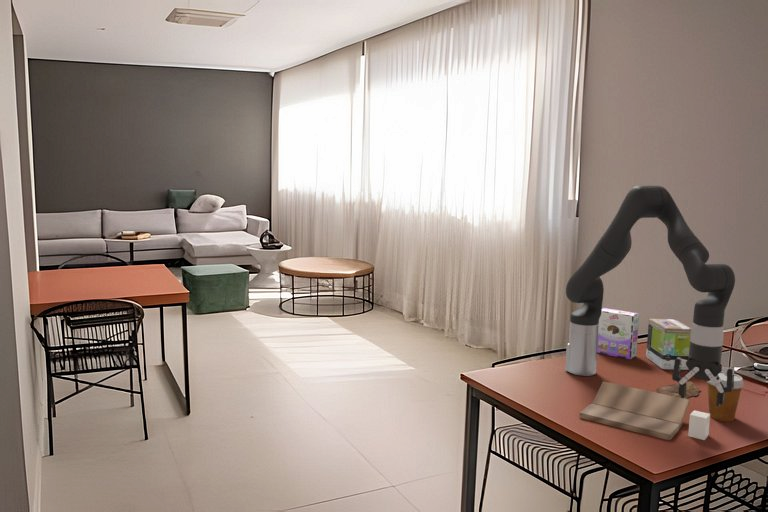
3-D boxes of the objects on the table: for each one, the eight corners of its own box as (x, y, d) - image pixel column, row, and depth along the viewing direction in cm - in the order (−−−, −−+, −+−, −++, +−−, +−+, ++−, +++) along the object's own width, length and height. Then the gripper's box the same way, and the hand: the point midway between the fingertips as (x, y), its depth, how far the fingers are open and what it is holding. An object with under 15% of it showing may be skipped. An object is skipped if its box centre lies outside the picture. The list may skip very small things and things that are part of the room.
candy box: (637, 356, 245) (640, 313, 242) (630, 360, 240) (633, 315, 238) (601, 349, 254) (603, 306, 251) (594, 352, 250) (596, 309, 247)
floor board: (579, 418, 186) (579, 412, 186) (592, 407, 194) (592, 402, 193) (669, 440, 171) (670, 434, 171) (680, 428, 179) (680, 423, 179)
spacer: (688, 436, 174) (689, 414, 173) (692, 431, 177) (693, 410, 177) (704, 440, 172) (706, 418, 171) (708, 435, 175) (710, 413, 174)
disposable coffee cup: (739, 426, 181) (743, 384, 179) (700, 419, 186) (704, 377, 184) (741, 415, 189) (745, 374, 187) (705, 408, 194) (708, 368, 192)
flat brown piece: (678, 408, 195) (678, 404, 195) (642, 398, 203) (642, 395, 202) (712, 388, 213) (712, 385, 212) (677, 380, 220) (677, 376, 220)
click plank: (593, 406, 194) (592, 403, 193) (603, 385, 200) (602, 381, 199) (680, 427, 180) (680, 423, 179) (689, 403, 185) (688, 399, 184)
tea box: (690, 370, 229) (694, 328, 227) (661, 369, 230) (664, 328, 227) (672, 357, 244) (675, 318, 242) (645, 357, 244) (647, 317, 242)
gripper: (673, 339, 172) (667, 399, 175) (734, 349, 164) (727, 412, 166) (680, 333, 178) (675, 391, 181) (740, 343, 170) (733, 403, 172)
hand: (700, 401), depth 173 cm, fingers open, 8 cm apart
